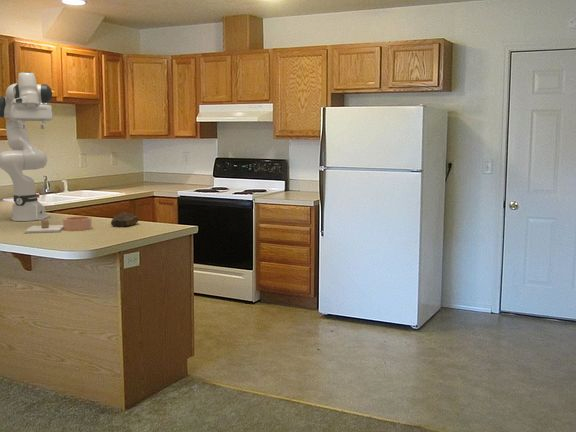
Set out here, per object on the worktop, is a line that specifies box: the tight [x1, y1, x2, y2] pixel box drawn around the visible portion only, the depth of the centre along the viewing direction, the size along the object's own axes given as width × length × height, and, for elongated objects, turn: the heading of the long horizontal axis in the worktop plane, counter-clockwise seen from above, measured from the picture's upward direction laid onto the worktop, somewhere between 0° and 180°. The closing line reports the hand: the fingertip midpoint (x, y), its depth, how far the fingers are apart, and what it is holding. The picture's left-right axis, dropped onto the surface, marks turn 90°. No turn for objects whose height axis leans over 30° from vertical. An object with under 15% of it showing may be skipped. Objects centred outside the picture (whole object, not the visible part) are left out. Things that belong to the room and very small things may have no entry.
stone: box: [110, 211, 140, 228], centre depth 341 cm, size 10×14×6 cm
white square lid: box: [24, 218, 64, 234], centre depth 324 cm, size 16×16×5 cm
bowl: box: [62, 215, 93, 232], centre depth 326 cm, size 13×13×6 cm
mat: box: [22, 228, 64, 235], centre depth 324 cm, size 19×17×1 cm
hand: (33, 128), depth 323 cm, fingers open, 8 cm apart
